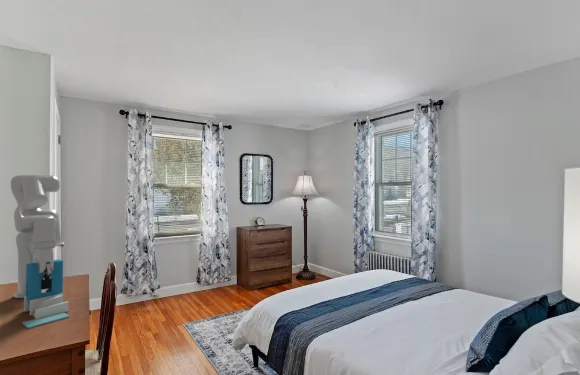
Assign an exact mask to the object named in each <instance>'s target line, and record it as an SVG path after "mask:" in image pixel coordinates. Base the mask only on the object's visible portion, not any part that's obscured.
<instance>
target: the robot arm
mask: <svg viewBox="0 0 580 375" xmlns="http://www.w3.org/2000/svg"><path fill="white" fill-rule="evenodd" d="M60 187H61V184H60V179H59V178H58V177H57V176H55V175H41V174H21V175H15V176H13V177H12V178H11V180H10V190H11V193H12V195H13V197H14V199H15V200H16V202H17V204H16V205H17V206H16V208H15V210H14V213H13V220H14V227H15V231H17V233H18V234H16V237H15V243H16V248H17V291H16V292H15V293H13V295H12V296H13V298H15V299H24V297H26V264H31V263H35V264H38V273H39V274H41V272H42V280H41V289H42V293H45V292H46V290H48V289H49V288H51V273H52V271H53V266H54V260H55V259H54V250H53V249H55V248H56V247H58V246H60V244H61V240H62V235H61V227H60V218H59V217H60V216H59V214H58V212H57V211H56V210H55V209H53V208H52V209H51V208H49V209H48V208H47V209H45V208H43V209H41V208H42V207H44V206H45V205H46V204H48V203H47V202H48V201H49V198H48V193H57V192H58V191H59V190H60ZM50 267H51V268H50ZM51 269H52V270H51ZM44 271H47V272H44ZM44 274H45V276H44Z"/></svg>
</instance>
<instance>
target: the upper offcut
mask: <svg viewBox="0 0 580 375" xmlns="http://www.w3.org/2000/svg"><path fill="white" fill-rule="evenodd" d="M63 302H64V295H62V296H61V295H54V296H51V297H48V298H44V299H41V300H37V301H36V308H37V309H38V308H43V307H47V306H51V305H55V304H59V303H63Z"/></svg>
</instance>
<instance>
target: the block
mask: <svg viewBox="0 0 580 375" xmlns="http://www.w3.org/2000/svg"><path fill="white" fill-rule="evenodd" d="M53 260H54V266H53V271H52V273H51V288H49V289H47V290H46V292H45V293H42V289H41V280H42V272H41V274H39V273H38V264H35V263H31V264H26V298H27V301H28V304H29V307H30V300H34V299H38V298H43V297H48V296H52V295H57V294H61V293H62V294H63V292H64V268H63V267H64V260H63V259H53ZM50 268H51V267H50ZM51 270H52V269H51ZM44 272H47V271H44ZM44 276H45V274H44Z"/></svg>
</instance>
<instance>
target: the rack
mask: <svg viewBox="0 0 580 375" xmlns="http://www.w3.org/2000/svg"><path fill="white" fill-rule="evenodd" d="M63 294H64V293H63V292H62V293H61V294H57V295H61V296H64V295H63ZM52 296H54V295H52ZM48 297H51V296H48ZM48 297H43V298H38V299H34V300H30V307H29V304H28V301H27V298H26V297H24V298H23V299H24V300H23V302H24V303H23V304H24V305H23V312H29V316H31V317H32V308H36V301H37V300H41V299H44V298H48ZM69 310H70V309H69V301H68V300H67V301H63V303H59V304H55V305H51V306H47V307H43V308H38V309H35V318H34V319H38V318H41V317H45V316H49V315H53V314H57V313H61V312H64V313H67V312H69Z"/></svg>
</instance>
